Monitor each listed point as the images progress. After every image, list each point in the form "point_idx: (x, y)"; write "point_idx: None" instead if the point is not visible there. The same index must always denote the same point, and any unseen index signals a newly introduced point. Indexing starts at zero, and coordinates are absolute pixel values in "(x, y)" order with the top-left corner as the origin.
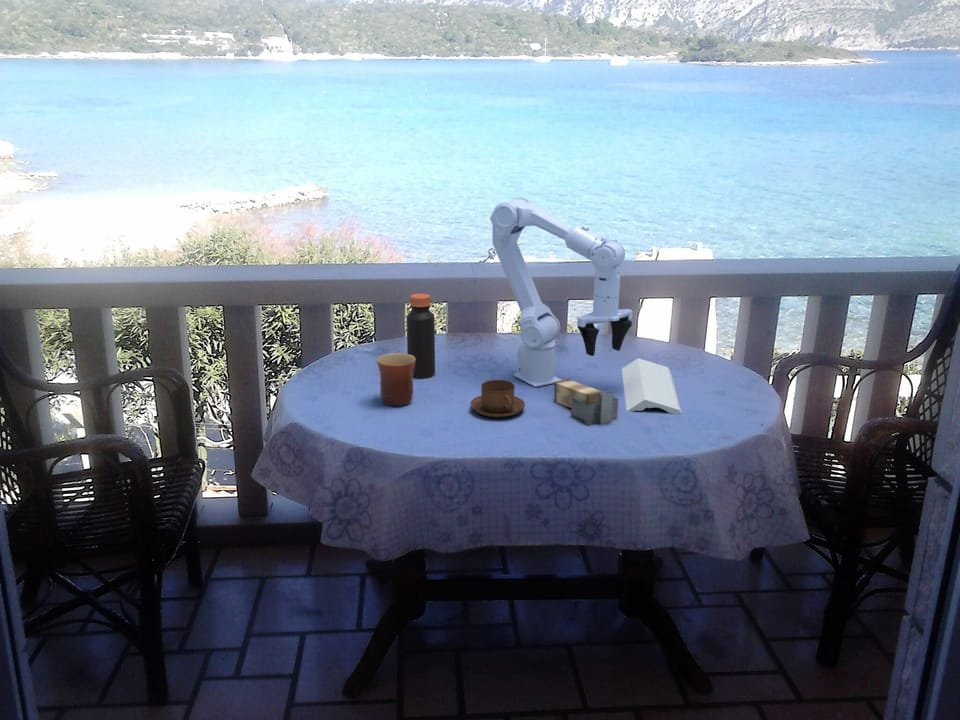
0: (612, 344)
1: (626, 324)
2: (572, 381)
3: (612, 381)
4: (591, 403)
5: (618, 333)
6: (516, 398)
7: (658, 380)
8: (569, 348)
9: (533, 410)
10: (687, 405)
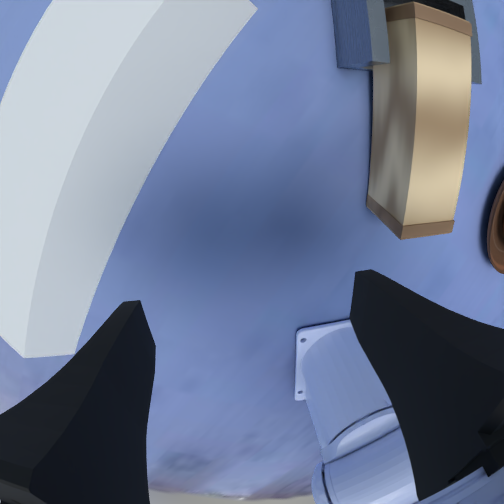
0: (153, 367)
1: (14, 468)
2: (410, 206)
3: (136, 285)
4: (458, 2)
5: (113, 414)
6: (490, 232)
7: (7, 188)
8: (155, 457)
9: (478, 173)
10: (29, 5)
